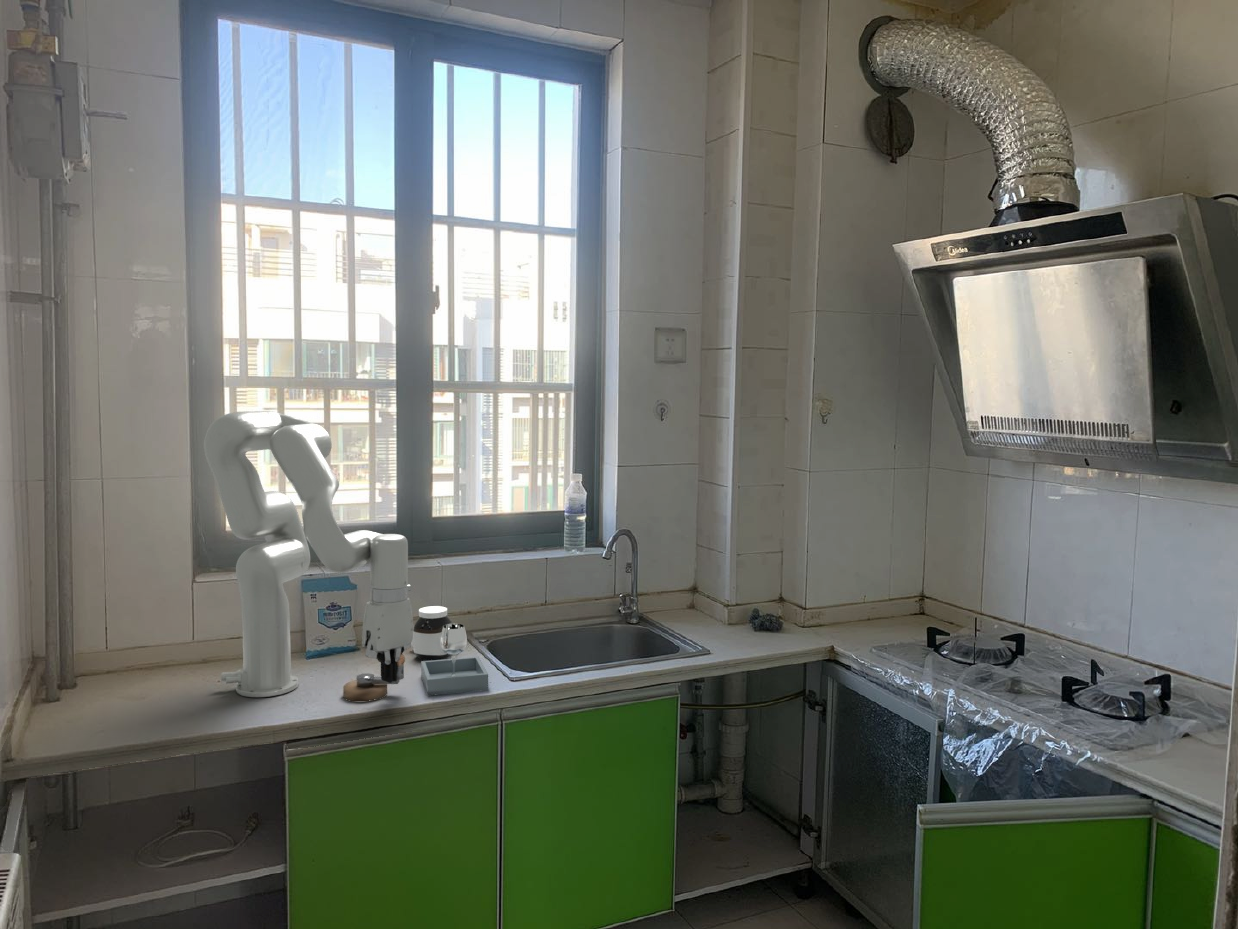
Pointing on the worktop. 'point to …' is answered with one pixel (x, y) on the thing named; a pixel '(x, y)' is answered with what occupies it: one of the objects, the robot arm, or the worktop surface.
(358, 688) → the crank base
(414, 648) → the spread jar
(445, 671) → the tray
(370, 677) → the crank
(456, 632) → the wineglass
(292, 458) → the robot arm
